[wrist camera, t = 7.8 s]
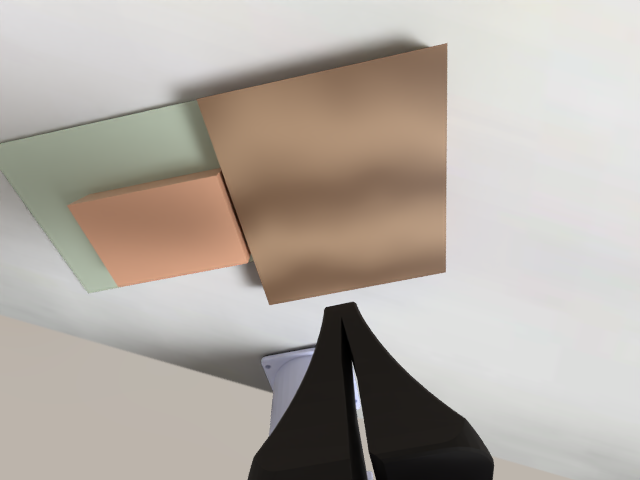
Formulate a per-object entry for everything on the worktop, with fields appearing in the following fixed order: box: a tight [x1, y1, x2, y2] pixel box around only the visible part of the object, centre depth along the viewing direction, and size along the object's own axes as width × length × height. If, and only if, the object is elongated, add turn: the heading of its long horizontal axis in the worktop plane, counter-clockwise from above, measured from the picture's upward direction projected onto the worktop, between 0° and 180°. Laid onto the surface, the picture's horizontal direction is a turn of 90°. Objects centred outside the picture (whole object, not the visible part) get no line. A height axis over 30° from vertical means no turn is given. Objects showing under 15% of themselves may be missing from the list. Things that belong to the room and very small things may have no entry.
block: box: [196, 43, 447, 305], centre depth 19 cm, size 14×13×2 cm
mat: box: [0, 100, 254, 293], centre depth 20 cm, size 11×13×1 cm
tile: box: [67, 168, 251, 287], centre depth 19 cm, size 6×9×2 cm, turn 101°
